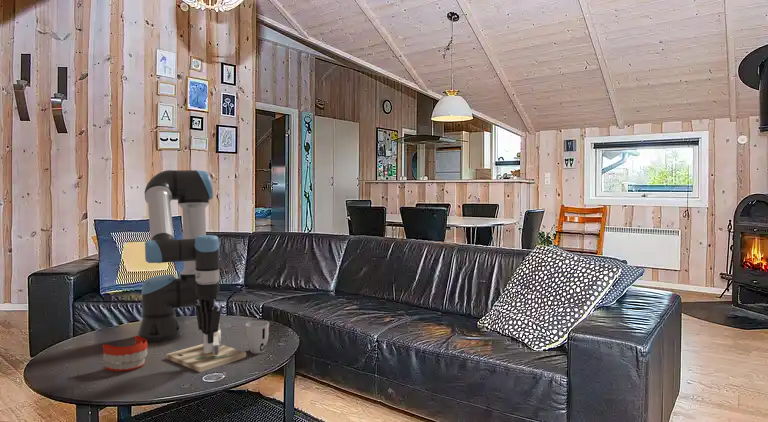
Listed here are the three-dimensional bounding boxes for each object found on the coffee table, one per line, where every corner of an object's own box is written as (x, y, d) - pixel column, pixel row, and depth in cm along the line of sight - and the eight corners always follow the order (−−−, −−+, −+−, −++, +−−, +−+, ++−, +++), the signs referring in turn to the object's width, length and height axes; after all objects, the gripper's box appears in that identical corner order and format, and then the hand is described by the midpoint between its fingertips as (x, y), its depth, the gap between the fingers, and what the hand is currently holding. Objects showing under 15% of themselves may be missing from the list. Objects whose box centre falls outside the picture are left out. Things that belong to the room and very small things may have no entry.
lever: (207, 343, 190) (206, 323, 189) (220, 341, 191) (220, 322, 191) (209, 358, 174) (208, 337, 174) (223, 356, 176) (223, 335, 175)
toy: (120, 376, 164) (119, 351, 163) (101, 369, 169) (101, 345, 169) (156, 364, 174) (156, 340, 174) (137, 358, 180) (137, 335, 179)
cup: (263, 355, 183) (263, 327, 182) (241, 354, 185) (241, 326, 184) (272, 348, 191) (272, 321, 190) (252, 346, 193) (251, 319, 192)
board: (166, 358, 179) (166, 353, 179) (213, 345, 194) (213, 340, 194) (200, 372, 167) (200, 366, 167) (247, 356, 182) (247, 351, 182)
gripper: (186, 281, 175) (187, 350, 176) (209, 286, 167) (210, 359, 168) (205, 278, 180) (206, 345, 182) (229, 283, 173) (229, 353, 174)
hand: (208, 352), depth 175 cm, fingers closed
